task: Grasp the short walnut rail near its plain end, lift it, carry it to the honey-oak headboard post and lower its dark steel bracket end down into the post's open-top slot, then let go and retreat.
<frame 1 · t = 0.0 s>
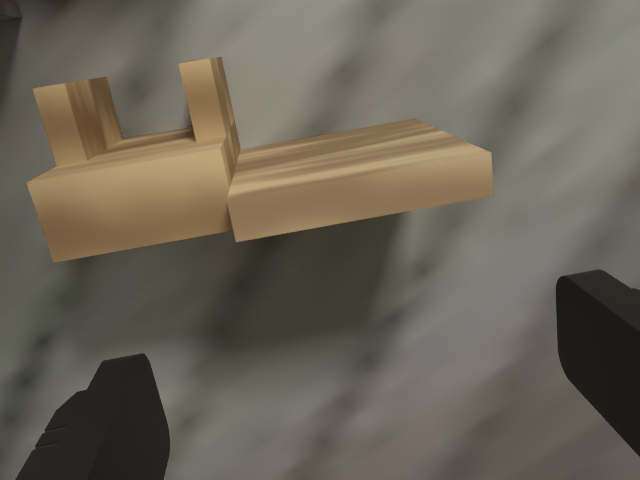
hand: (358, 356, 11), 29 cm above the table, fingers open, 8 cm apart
headboard post: (166, 131, 38), on the table
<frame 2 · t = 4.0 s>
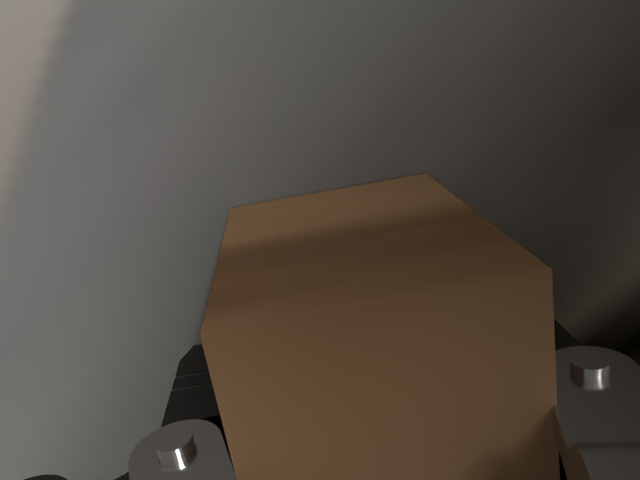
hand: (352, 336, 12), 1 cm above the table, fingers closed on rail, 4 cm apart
rail: (368, 437, 14), on the table, touching gripper
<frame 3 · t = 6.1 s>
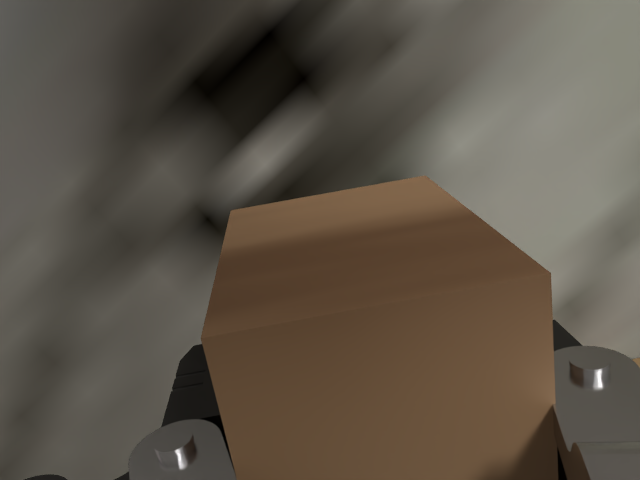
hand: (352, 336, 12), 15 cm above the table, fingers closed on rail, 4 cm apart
rail: (368, 438, 14), point 15 cm above the table, touching gripper
when the fingers open (2 cm above the table, at t = 8.3 s): rail drops 1 cm, on the table.
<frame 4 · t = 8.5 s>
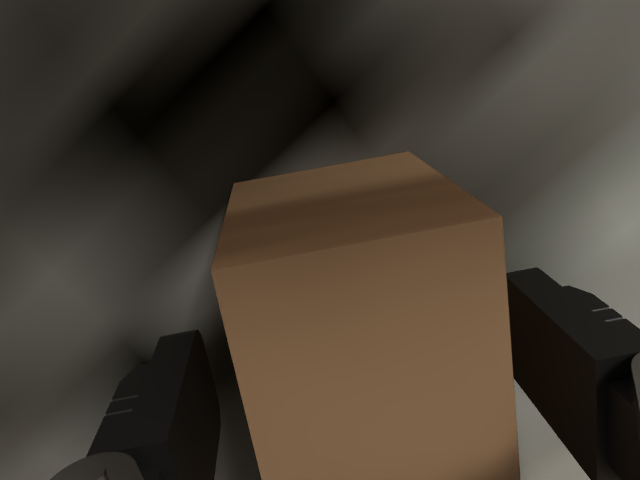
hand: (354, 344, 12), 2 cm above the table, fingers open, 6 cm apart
rail: (359, 394, 15), on the table
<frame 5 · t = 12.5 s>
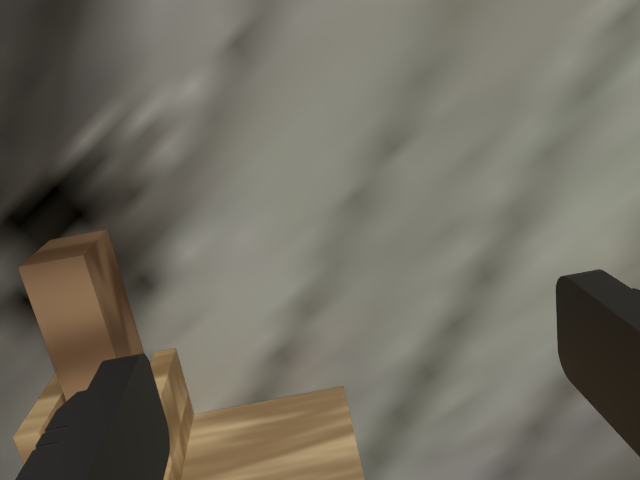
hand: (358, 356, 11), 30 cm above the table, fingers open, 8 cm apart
headboard post: (130, 403, 45), on the table
rail: (102, 311, 42), on the table
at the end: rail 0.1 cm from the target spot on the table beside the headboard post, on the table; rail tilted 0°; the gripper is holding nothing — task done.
